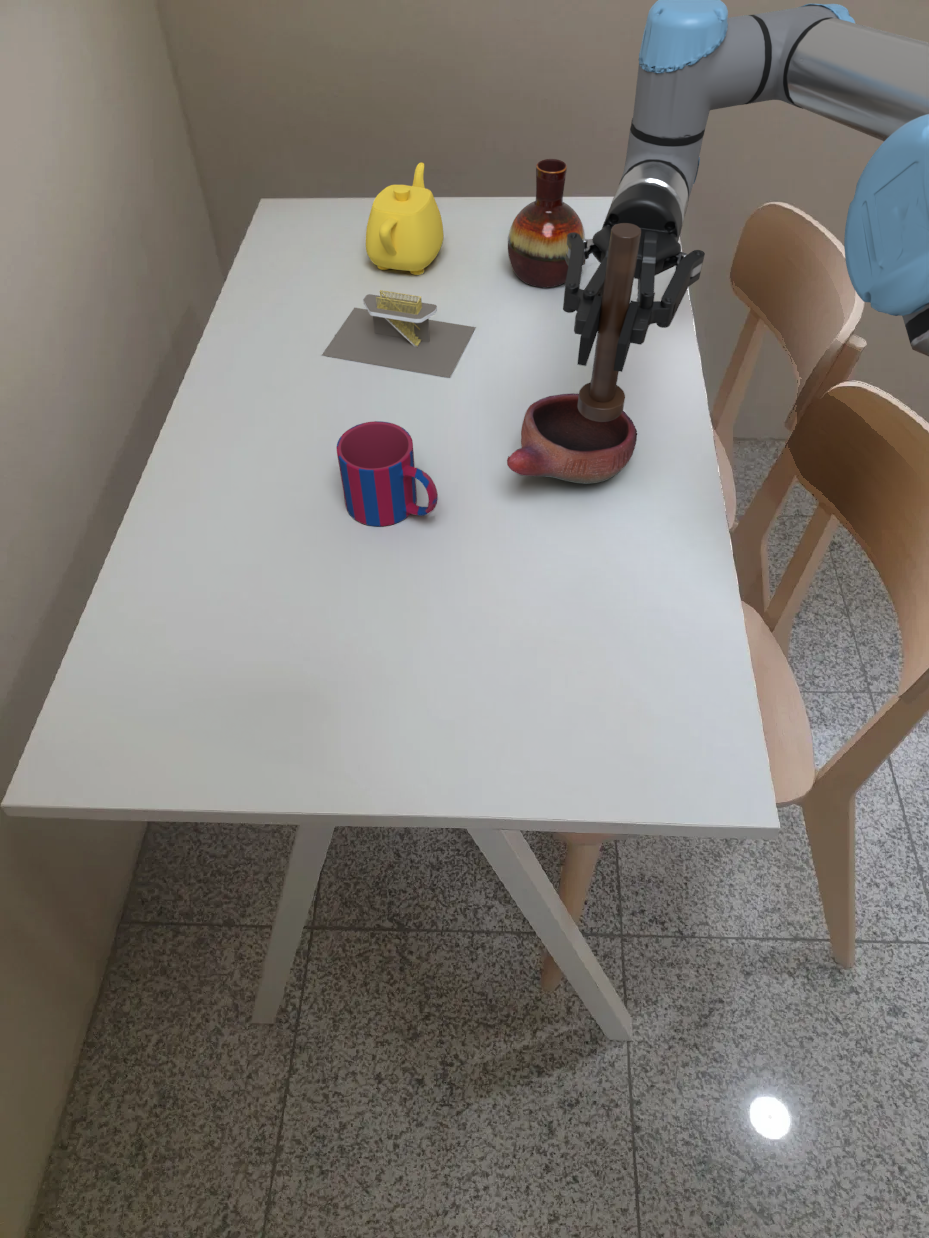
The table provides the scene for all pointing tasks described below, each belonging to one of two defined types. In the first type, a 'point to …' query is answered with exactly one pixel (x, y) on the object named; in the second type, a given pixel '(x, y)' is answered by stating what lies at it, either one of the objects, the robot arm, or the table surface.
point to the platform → (400, 336)
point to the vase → (544, 230)
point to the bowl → (571, 442)
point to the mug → (381, 474)
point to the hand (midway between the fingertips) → (601, 354)
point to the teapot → (404, 227)
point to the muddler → (611, 326)
